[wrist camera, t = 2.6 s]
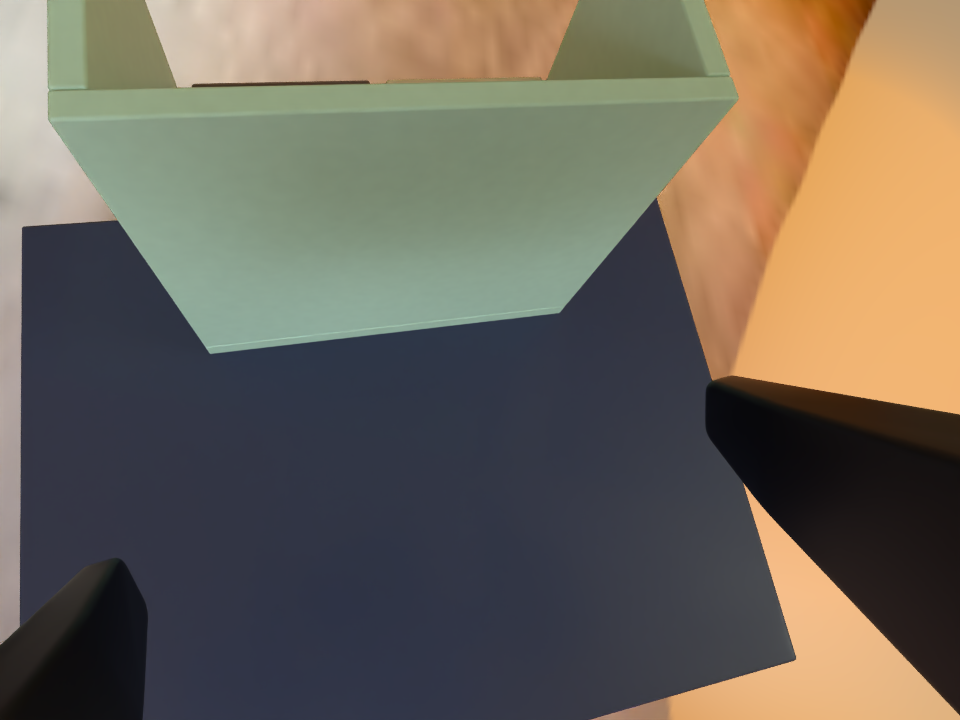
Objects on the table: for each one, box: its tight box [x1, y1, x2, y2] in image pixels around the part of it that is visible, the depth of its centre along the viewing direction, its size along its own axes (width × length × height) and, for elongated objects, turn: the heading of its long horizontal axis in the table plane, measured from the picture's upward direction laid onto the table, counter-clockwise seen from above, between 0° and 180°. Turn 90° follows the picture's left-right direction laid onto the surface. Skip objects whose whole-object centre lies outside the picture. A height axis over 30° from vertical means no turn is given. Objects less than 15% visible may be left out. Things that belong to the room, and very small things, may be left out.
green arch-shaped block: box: [47, 0, 739, 354], centre depth 15 cm, size 6×11×10 cm, turn 101°
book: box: [20, 198, 796, 720], centre depth 20 cm, size 16×20×4 cm
